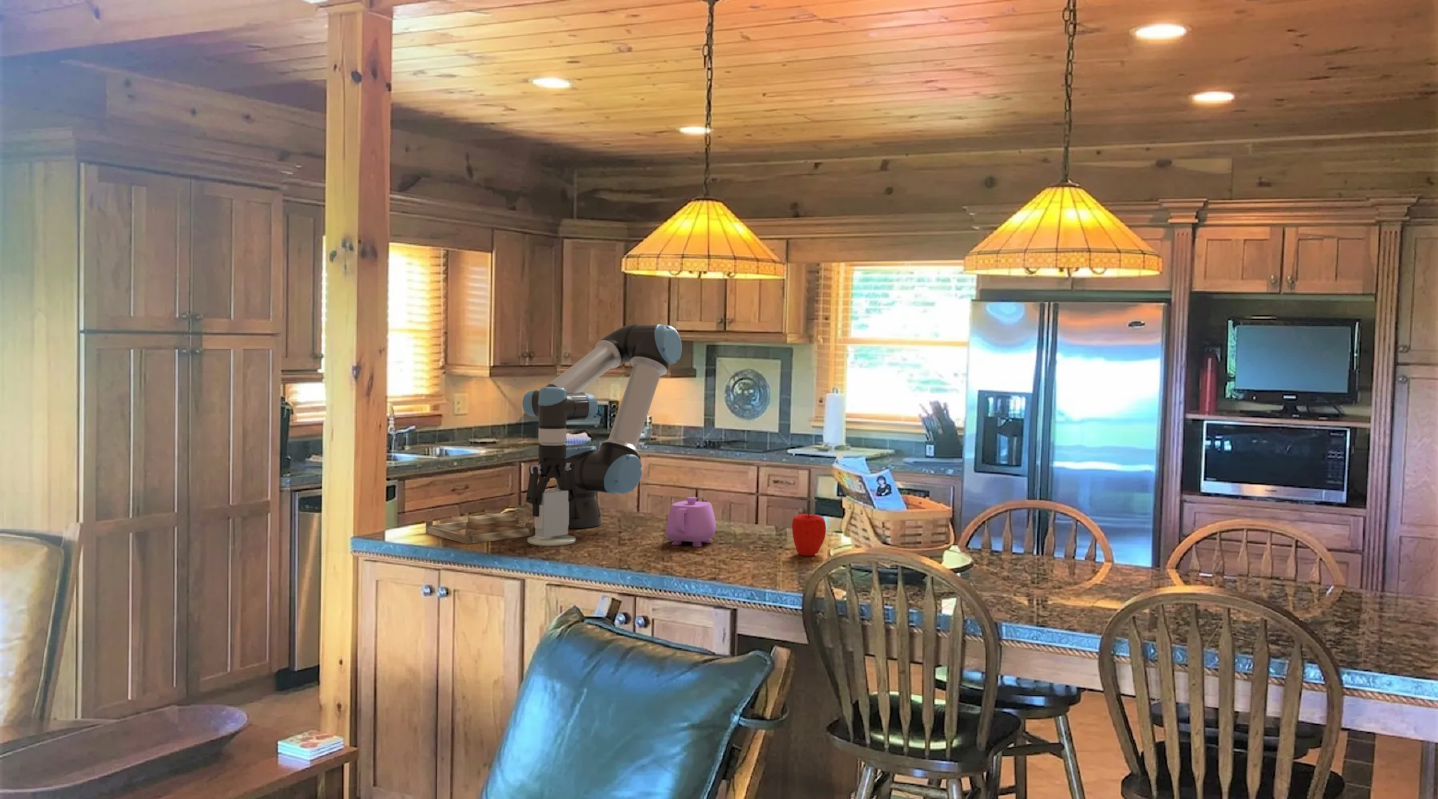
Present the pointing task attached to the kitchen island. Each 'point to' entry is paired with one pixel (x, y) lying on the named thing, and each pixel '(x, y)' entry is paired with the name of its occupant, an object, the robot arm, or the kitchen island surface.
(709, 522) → the teapot
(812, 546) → the apple
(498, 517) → the offcut stack
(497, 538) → the rack
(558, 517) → the gray rectangular block
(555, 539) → the plate
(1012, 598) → the kitchen island surface
